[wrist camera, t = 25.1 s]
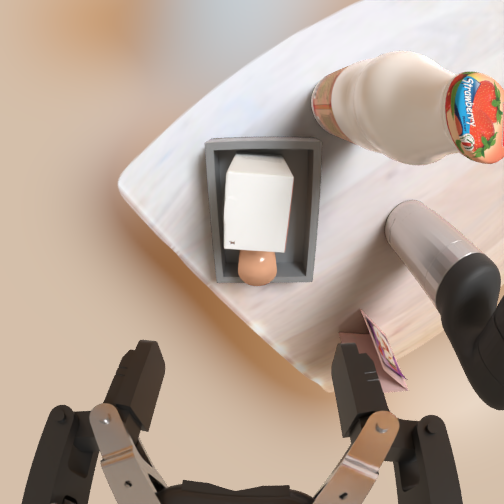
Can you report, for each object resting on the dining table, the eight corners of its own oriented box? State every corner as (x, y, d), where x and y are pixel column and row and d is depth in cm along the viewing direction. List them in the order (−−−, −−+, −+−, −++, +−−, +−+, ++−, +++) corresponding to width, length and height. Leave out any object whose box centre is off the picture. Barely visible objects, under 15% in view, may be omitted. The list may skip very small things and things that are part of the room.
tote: (314, 137, 36) (322, 141, 31) (307, 264, 45) (312, 281, 41) (211, 138, 36) (204, 142, 32) (220, 264, 46) (216, 282, 41)
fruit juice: (307, 71, 31) (409, 5, 7) (372, 76, 31) (531, 62, 6) (311, 137, 36) (413, 205, 11) (374, 138, 35) (524, 209, 11)
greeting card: (389, 332, 53) (412, 387, 40) (361, 351, 56) (378, 407, 43) (363, 305, 49) (388, 366, 36) (332, 327, 52) (348, 390, 39)
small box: (277, 209, 40) (285, 255, 28) (233, 206, 40) (222, 250, 28) (283, 153, 36) (295, 176, 25) (236, 150, 36) (224, 171, 24)
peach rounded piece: (254, 221, 40) (255, 247, 35) (280, 241, 42) (284, 268, 36) (233, 244, 42) (230, 272, 37) (258, 262, 44) (259, 291, 38)
